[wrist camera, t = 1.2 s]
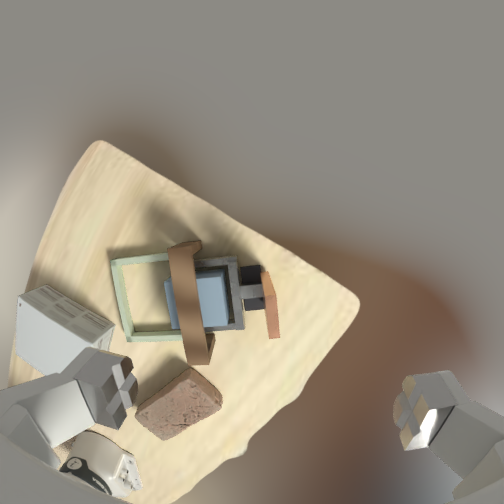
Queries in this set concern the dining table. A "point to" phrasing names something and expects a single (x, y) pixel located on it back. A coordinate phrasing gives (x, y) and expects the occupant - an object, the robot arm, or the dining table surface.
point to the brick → (179, 405)
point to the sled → (245, 295)
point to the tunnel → (189, 303)
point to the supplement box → (56, 330)
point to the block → (204, 298)
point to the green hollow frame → (124, 305)
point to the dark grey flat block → (252, 276)
